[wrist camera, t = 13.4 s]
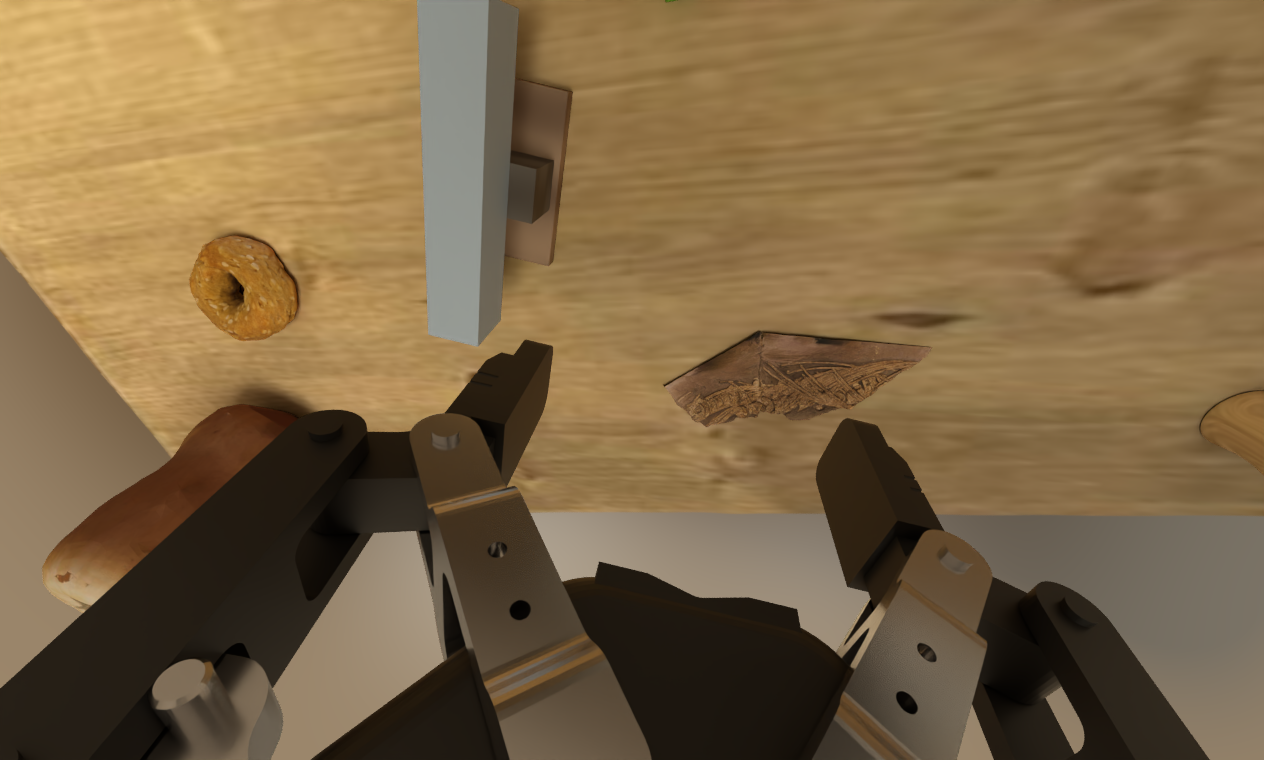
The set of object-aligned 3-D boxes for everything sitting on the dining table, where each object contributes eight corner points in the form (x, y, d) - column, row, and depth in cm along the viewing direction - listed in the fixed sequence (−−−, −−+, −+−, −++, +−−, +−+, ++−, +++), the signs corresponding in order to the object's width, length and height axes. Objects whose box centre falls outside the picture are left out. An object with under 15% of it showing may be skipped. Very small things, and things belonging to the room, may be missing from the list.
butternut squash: (251, 450, 64) (30, 628, 43) (233, 370, 57) (-43, 536, 36) (351, 479, 65) (182, 669, 43) (346, 403, 57) (140, 586, 36)
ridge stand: (461, 64, 37) (420, 60, 32) (572, 91, 37) (550, 92, 32) (460, 238, 45) (427, 259, 39) (553, 261, 45) (532, 285, 39)
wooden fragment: (672, 427, 54) (671, 433, 53) (655, 342, 48) (655, 346, 47) (920, 406, 49) (924, 412, 48) (933, 307, 43) (938, 312, 42)
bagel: (313, 265, 48) (278, 281, 44) (296, 344, 54) (264, 364, 50) (215, 211, 47) (169, 223, 43) (208, 298, 52) (167, 316, 48)
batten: (457, -7, 30) (416, -23, 25) (519, 8, 30) (488, -5, 25) (456, 309, 41) (428, 334, 37) (500, 320, 41) (477, 346, 37)
